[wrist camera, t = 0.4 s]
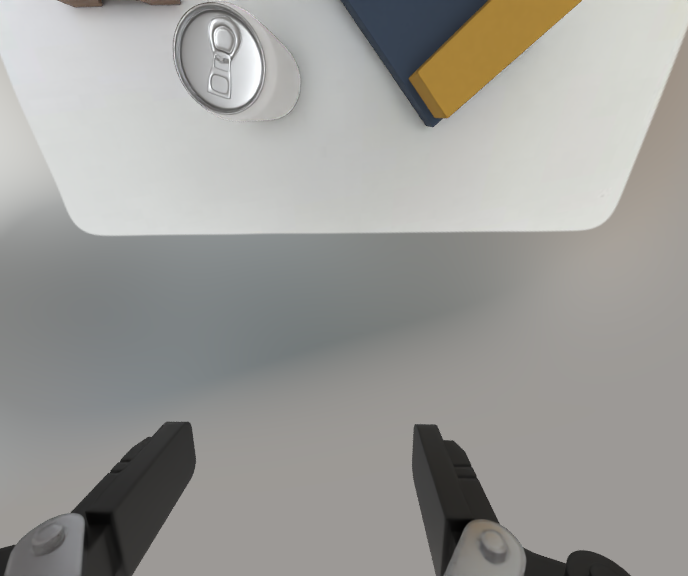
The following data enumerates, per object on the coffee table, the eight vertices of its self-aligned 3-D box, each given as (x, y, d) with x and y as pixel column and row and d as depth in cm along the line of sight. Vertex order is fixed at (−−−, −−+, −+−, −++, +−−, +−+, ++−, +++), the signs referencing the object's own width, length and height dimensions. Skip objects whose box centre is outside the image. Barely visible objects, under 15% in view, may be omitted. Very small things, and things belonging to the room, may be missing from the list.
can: (308, 52, 29) (281, 15, 18) (293, 129, 32) (262, 135, 21) (237, 26, 28) (166, -28, 17) (229, 107, 31) (163, 103, 20)
